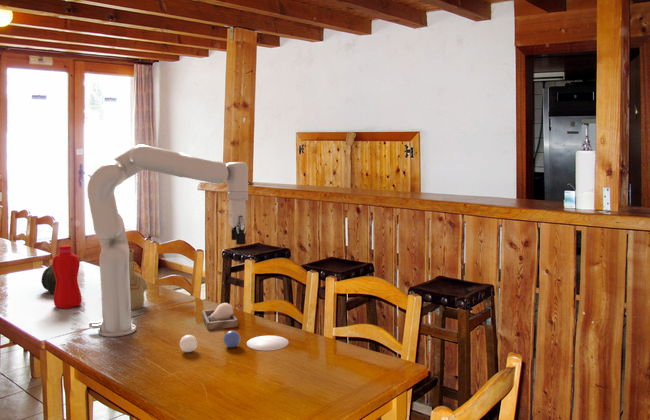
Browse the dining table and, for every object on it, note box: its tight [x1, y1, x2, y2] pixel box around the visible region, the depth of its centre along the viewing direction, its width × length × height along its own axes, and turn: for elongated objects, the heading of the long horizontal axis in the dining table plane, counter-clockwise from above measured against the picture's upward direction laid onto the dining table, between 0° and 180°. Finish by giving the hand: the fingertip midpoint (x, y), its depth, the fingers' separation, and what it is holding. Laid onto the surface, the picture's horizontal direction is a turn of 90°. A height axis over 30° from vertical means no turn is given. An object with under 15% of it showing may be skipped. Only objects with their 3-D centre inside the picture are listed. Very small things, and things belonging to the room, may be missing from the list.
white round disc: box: [246, 335, 290, 352], centre depth 198 cm, size 14×14×1 cm
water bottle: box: [51, 244, 82, 310], centre depth 239 cm, size 9×11×25 cm
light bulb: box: [207, 302, 234, 322], centre depth 220 cm, size 7×7×11 cm
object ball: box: [223, 330, 241, 348], centre depth 194 cm, size 6×6×6 cm
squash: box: [41, 264, 56, 295], centre depth 262 cm, size 14×15×15 cm
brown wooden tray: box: [201, 308, 239, 331], centre depth 220 cm, size 11×16×2 cm
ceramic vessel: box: [129, 248, 148, 311], centre depth 237 cm, size 17×20×25 cm
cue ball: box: [179, 334, 198, 353], centre depth 189 cm, size 6×6×6 cm
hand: (238, 242), depth 218 cm, fingers open, 9 cm apart
